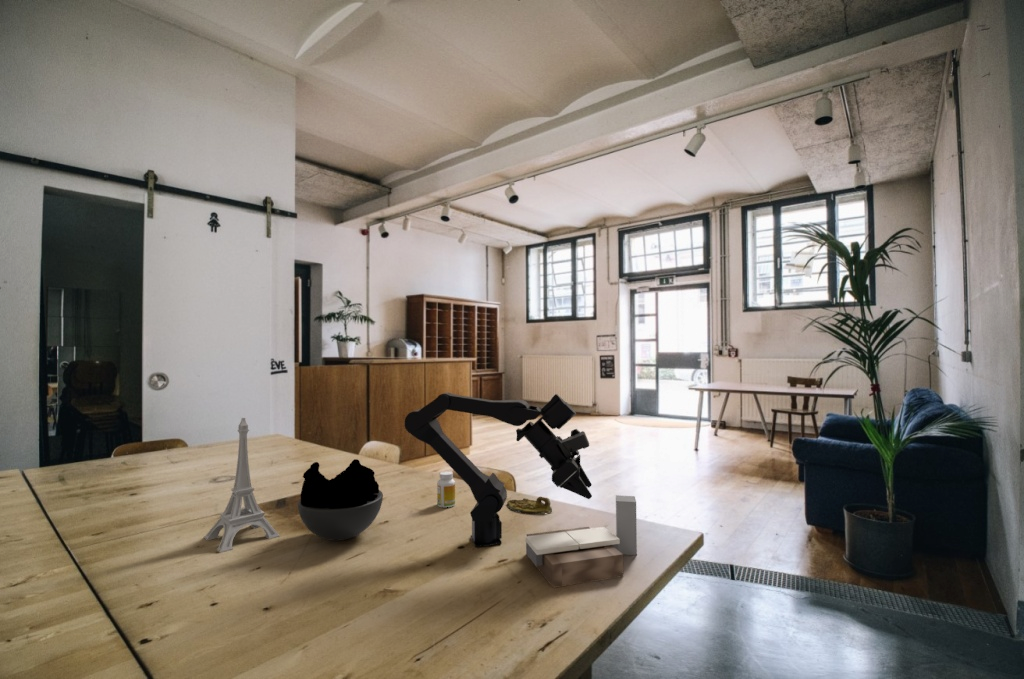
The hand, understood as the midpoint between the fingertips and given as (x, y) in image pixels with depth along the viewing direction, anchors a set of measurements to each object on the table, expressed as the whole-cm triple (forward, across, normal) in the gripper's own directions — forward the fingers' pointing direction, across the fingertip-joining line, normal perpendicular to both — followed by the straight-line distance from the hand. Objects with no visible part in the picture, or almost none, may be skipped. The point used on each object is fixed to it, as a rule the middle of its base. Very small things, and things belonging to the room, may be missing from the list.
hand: (590, 491), depth 112 cm
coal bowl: (-32, -3, +54) cm, 63 cm away
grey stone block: (+15, -1, +3) cm, 15 cm away
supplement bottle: (-20, +25, +40) cm, 51 cm away
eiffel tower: (-49, -7, +73) cm, 88 cm away
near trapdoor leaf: (+2, -12, +13) cm, 18 cm away
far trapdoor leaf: (+8, -8, +7) cm, 13 cm away
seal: (-2, +26, +22) cm, 34 cm away
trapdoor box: (+7, -10, +12) cm, 17 cm away
